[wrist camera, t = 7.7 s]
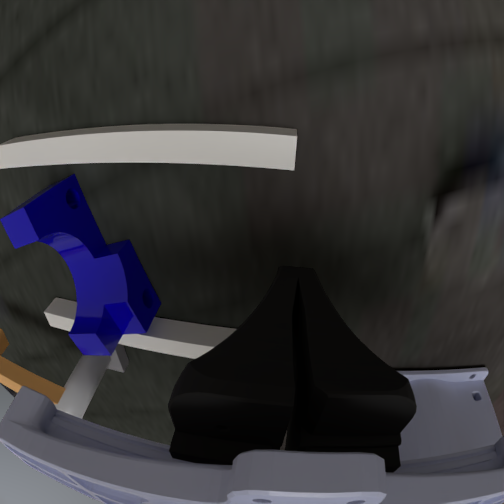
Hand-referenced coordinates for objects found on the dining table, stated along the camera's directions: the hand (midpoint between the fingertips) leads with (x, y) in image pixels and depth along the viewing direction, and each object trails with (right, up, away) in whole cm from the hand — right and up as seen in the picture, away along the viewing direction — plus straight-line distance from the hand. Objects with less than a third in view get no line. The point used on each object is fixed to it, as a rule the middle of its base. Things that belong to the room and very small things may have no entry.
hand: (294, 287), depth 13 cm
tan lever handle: (-16, -4, +6) cm, 17 cm away
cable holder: (-9, +2, +3) cm, 10 cm away
